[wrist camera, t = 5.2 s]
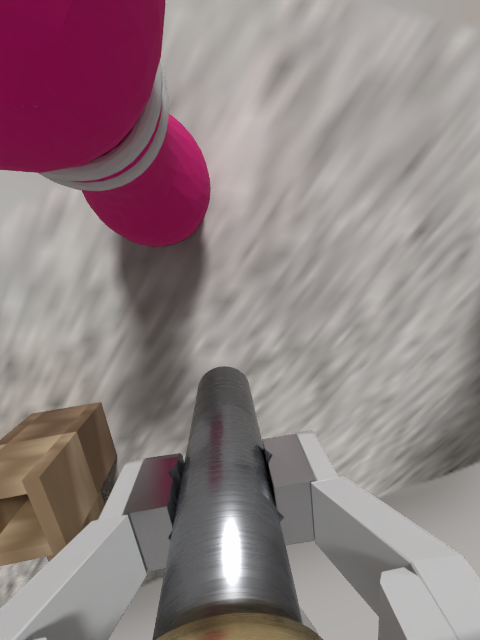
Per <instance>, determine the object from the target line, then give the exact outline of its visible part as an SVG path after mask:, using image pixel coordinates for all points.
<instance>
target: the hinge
mask: <svg viewBox="0 0 480 640" xmlns="http://www.w3.org/2000/svg"><path fill="white" fill-rule="evenodd" d="M116 458H117V454H116V451H115V448H114V444H113V441H112V438H111V434H110V431H109V428H108V424H107V421H106V418H105V414H104V411H103V408H102V404H101V402H99V403H93V404H87V405H82V406H76V407H70V408H64V409H58V410H52V411H46V412H40V413H34V414H31V415H30V416H29V417H28V418H26V419H25V420H24V421H23V422H22V423H20V424H19V425H18V426H17V427H15V428H14V429H13V430H12V431H11V432H9V433H8V434H7V435H6V436H4V437H3V438H2V439H1V440H0V566H3V565H8V564H13V563H17V562H22V561H27V560H32V559H36V558H41V557H46V556H47V559H48V561H49V562H50V561H51V560H52V559H53V558H54V557H55V556H56V555H57V554H58V553H59V552H60V551H61V550H62V549H63V548H64V547H65V546H66V545H67V544H68V543H69V542H70V541H72V540H73V539H74V538H75V537H76V536H77V535H78V534H79V533H80V532H81V531H82V530H83V529H84V528H85V527H86V526H87V525H88V524H89V523H90V522H91V521H95V520H98V519H99V517H100V514H101V512H102V510H103V508H104V506H105V503H104V500H103V497H102V494H101V491H100V490H101V488H102V486H103V484H104V482H105V480H106V478H107V476H108V474H109V472H110V470H111V468H112V466H113V464H114V462H115V460H116Z"/></svg>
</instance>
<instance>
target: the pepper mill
mask: <svg viewBox="0 0 480 640" xmlns="http://www.w3.org/2000/svg"><path fill="white" fill-rule="evenodd" d="M164 14H165V0H0V170H11V171H23V172H36V173H39V174H41V175H43V176H44V177H46V178H48V179H50V180H52V181H53V182H56V183H58V184H61V185H64V186H67V187H71V188H74V189H78V190H82V192H83V194H84V196H85V198H86V200H87V202H88V203H89V205H90V207H91V208H92V209H93V210H94V212H95V213H96V214H97V215H98V217H99V218H100V219H101V220H102V221H103V222H104V223H105V224H106V225H107V226H108V227H109V228H110V229H112V230H113V231H115V232H116V233H117V234H119V235H121V236H123V237H124V238H126V239H128V240H130V241H132V242H135V243H138V244H140V245H146V246H151V247H157V246H167V245H172V244H175V243H177V242H180V241H183V240H185V239H186V238H188V237H189V236H191V235H192V234H193V233H194V232H195V231H196V230H197V228H198V227H199V225H200V223H201V221H202V220H203V218H204V216H205V213H206V211H207V208H208V204H209V200H210V178H209V174H208V170H207V166H206V162H205V160H204V157H203V154H202V152H201V150H200V148H199V146H198V145H197V143H196V141H195V140H194V138H193V137H192V135H191V134H190V133H189V132H188V131H187V130H186V129H185V127H184V126H183V125H182V124H181V123H180V122H179V121H178V120H176V119H175V118H174V117H173V116H171V115H170V114H169V101H168V91H167V86H166V80H165V76H164V73H163V69H162V66H161V64H160V58H161V48H162V37H163V25H164Z"/></svg>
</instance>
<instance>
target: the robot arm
mask: <svg viewBox="0 0 480 640" xmlns="http://www.w3.org/2000/svg"><path fill="white" fill-rule="evenodd" d="M262 442H263V451H264V455H265V460H266V465H267V469H268V471H269V475H270V482H271V487H272V492H273V496H274V500H275V505H276V509H277V511H278V515H279V520H280V524H281V528H282V533H283V537H284V542H285V545H290V544H297V543H303V542H310V541H315V543H316V544H317V545H318V547H319V548H320V549H321V550H322V551H323V552H324V554H325V555H326V556H327V557H328V558H329V560H330V561H331V562H332V563H333V564H334V565H335V566H336V568H337V569H338V570H339V571H340V572H341V573H342V575H343V576H344V577H345V578H346V579H347V580H348V581H349V583H350V584H351V585H352V586H353V587H354V589H355V590H356V591H357V592H358V593H359V594H360V595H361V596H362V598H363V599H364V600H365V601H366V602H367V603H368V605H369V606H370V607H371V608H372V609H373V611H374V612H375V613H376V614H377V615H378V616H379V633H378V634H379V635H378V636H379V637H378V640H480V577H479V576H478V575H477V573H476V572H475V571H474V570H473V568H472V567H471V566H470V564H469V563H468V562H467V561H466V560H465V558H464V557H463V556H462V555H461V554H460V553H459V552H457V551H456V550H454V549H453V548H451V547H449V546H448V545H447V544H445V543H444V542H442V541H441V540H439V539H438V538H436V537H434V536H433V535H432V534H430V533H428V532H427V531H426V530H424V529H422V528H421V527H420V526H418V525H416V524H415V523H414V522H412V521H411V520H409V519H408V518H406V517H405V516H403V515H402V514H400V513H399V512H397V511H395V510H394V509H393V508H391V507H390V506H388V505H386V504H385V503H383V502H382V501H380V500H379V499H378V498H376V497H375V496H373V495H372V494H370V493H369V492H367V491H366V490H364V489H363V488H361V487H360V486H358V485H357V484H355V483H354V482H352V481H351V480H349V479H348V478H346V477H338V475H337V473H336V471H335V469H334V468H333V466H332V464H331V462H330V460H329V458H328V457H327V455H326V453H325V451H324V449H323V447H322V446H321V444H320V442H319V440H318V438H317V437H316V435H315V433H314V432H313V431H312V430H310V431H305V432H300V433H295V434H290V435H285V436H279V437H273V438H268V439H262ZM183 468H184V460H183V456H182V454H180V453H178V454H171V455H164V456H157V457H150V458H146V459H139V460H132V461H128V462H127V463H126V464H125V465H124V466H123V468H122V471H121V473H120V475H119V477H118V479H117V481H116V483H115V485H114V487H113V489H112V491H111V494H110V496H109V498H108V500H107V502H106V504H105V506H104V508H103V510H102V512H101V514H100V517H99V519H98V520H95V521H91V522H90V523H89V524H88V525H87V526H86V527H85V528H84V529H83V530H82V531H81V532H80V533H79V534H78V535H77V536H76V537H75V538H74V539H73V540H72V541H70V542H69V543H68V544H67V545H66V546H65V547H64V548H63V549H62V550H61V551H60V552H59V553H58V554H57V555H56V556H55V557H54V558H53V559H52V560H51V561H50V562H49V563H48V564H47V565H45V566H44V567H43V568H42V569H41V570H40V571H39V572H38V573H37V574H36V575H35V576H34V577H33V578H32V579H31V580H30V581H29V582H28V583H27V584H26V585H25V586H24V587H23V588H22V589H20V590H19V591H18V592H17V593H16V594H15V595H14V596H13V597H12V598H11V599H10V600H9V601H8V602H7V603H6V604H5V605H4V606H3V607H2V608H1V609H0V640H108V639H109V637H110V636H111V634H112V632H113V631H114V629H115V627H116V626H117V624H118V622H119V621H120V619H121V617H122V616H123V614H124V612H125V611H126V609H127V607H128V606H129V604H130V602H131V601H132V599H133V597H134V596H135V594H136V592H137V591H138V589H139V587H140V586H141V584H142V582H143V581H144V579H145V577H146V576H147V573H146V572H150V571H155V570H159V569H164V568H166V562H167V557H168V551H169V546H170V540H171V535H172V529H173V524H174V518H175V513H176V507H177V501H178V496H179V490H180V485H181V479H182V474H183Z"/></svg>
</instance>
